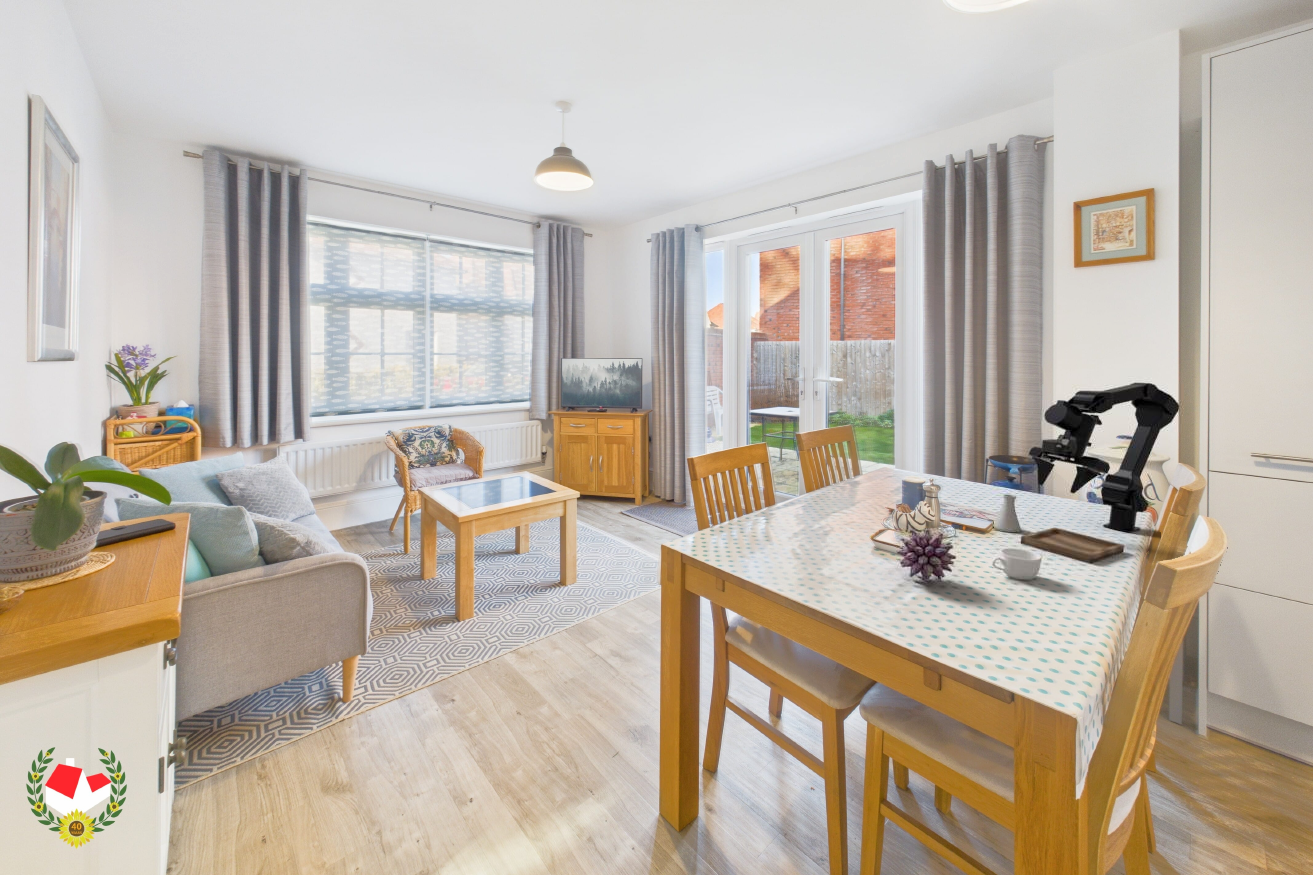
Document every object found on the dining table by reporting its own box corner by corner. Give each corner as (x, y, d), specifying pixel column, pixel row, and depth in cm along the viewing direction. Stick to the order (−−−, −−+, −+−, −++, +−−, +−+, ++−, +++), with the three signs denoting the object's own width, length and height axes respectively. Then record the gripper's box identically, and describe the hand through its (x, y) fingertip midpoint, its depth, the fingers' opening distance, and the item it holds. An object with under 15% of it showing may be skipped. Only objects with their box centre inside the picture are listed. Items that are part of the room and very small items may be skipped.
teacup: (1024, 569, 127) (1027, 547, 126) (1047, 583, 119) (1050, 560, 119) (981, 569, 127) (983, 547, 126) (1001, 583, 120) (1003, 560, 119)
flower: (891, 567, 129) (894, 519, 127) (947, 573, 125) (951, 523, 123) (898, 587, 118) (901, 534, 116) (959, 593, 114) (964, 539, 112)
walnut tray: (1054, 534, 152) (1054, 527, 152) (1123, 552, 138) (1124, 545, 137) (1020, 543, 145) (1021, 536, 144) (1089, 563, 131) (1090, 555, 130)
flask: (1012, 525, 160) (1015, 492, 158) (1026, 533, 153) (1030, 499, 151) (986, 524, 161) (989, 492, 159) (999, 532, 153) (1002, 498, 152)
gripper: (1025, 422, 154) (1004, 473, 155) (1091, 430, 136) (1068, 488, 137) (1052, 434, 157) (1032, 484, 158) (1121, 444, 139) (1098, 500, 140)
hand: (1055, 488), depth 148 cm, fingers open, 9 cm apart
